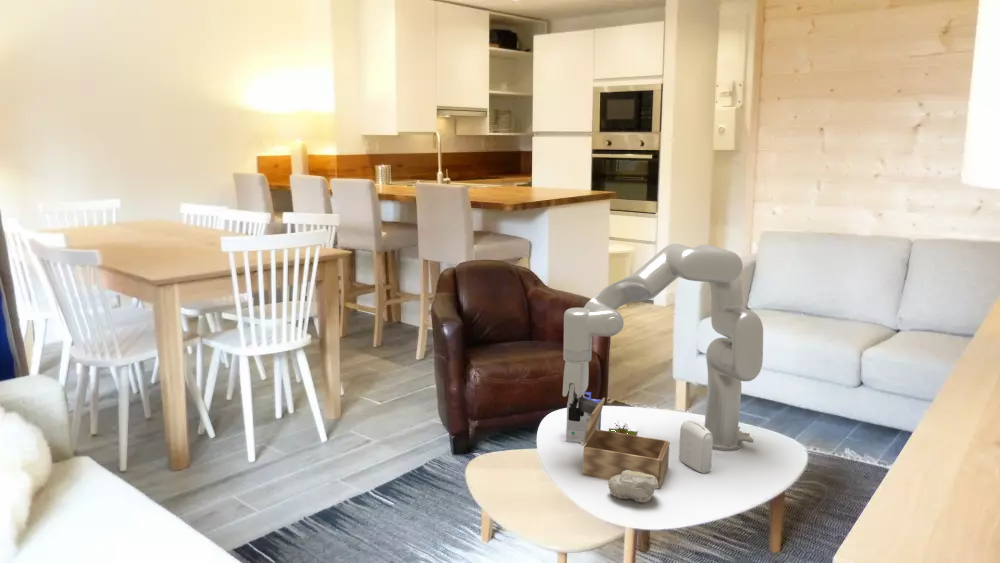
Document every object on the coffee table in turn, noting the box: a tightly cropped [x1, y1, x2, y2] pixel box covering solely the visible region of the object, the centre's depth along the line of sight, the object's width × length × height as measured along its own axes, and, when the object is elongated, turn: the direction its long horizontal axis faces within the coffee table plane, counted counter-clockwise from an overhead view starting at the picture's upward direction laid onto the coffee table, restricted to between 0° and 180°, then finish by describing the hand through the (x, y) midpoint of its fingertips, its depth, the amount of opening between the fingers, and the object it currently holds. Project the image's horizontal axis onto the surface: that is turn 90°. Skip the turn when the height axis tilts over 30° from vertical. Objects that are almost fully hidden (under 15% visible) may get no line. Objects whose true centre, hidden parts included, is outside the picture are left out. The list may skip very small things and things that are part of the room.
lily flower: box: [608, 421, 638, 436], centre depth 226 cm, size 12×12×5 cm
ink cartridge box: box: [565, 391, 602, 444], centre depth 222 cm, size 10×6×14 cm, turn 78°
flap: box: [574, 395, 606, 447], centre depth 205 cm, size 10×13×8 cm
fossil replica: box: [607, 470, 660, 504], centre depth 188 cm, size 12×8×10 cm
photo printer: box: [678, 420, 713, 474], centre depth 206 cm, size 10×4×12 cm, turn 26°
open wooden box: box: [582, 429, 670, 490], centre depth 203 cm, size 21×13×8 cm, turn 69°
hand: (576, 417), depth 206 cm, fingers closed on flap, 3 cm apart
